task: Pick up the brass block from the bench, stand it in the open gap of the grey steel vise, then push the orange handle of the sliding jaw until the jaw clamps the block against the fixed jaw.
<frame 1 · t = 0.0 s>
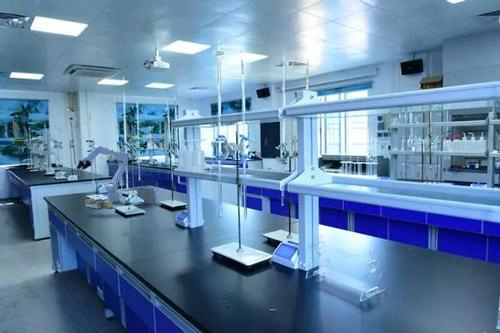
hand: (80, 168, 280), 32 cm above the table, tool tilted 50°, fingers open, 7 cm apart
geiger counter: (144, 202, 298), on the table
vise bed: (100, 206, 288), on the table
brass block: (108, 207, 282), on the table
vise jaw: (92, 201, 293), point 3 cm above the table, slide at 0.0 cm
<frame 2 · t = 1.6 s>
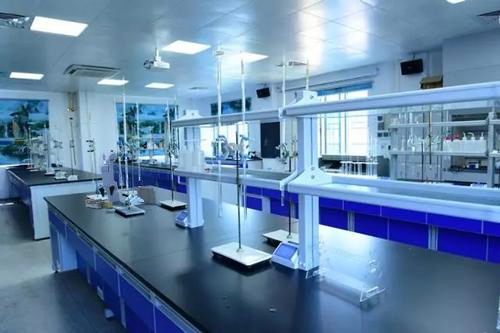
hand: (107, 196, 281), 9 cm above the table, tool pointing down, fingers open, 7 cm apart
nothing on the table moved.
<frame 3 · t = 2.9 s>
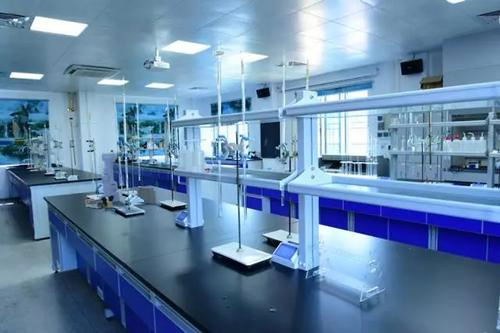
hand: (108, 205, 282), 1 cm above the table, tool pointing down, fingers closed on brass block, 4 cm apart
brass block: (108, 207, 282), on the table, touching gripper
everything else where it was.
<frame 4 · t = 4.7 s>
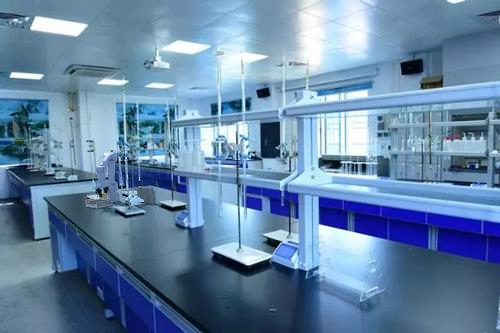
hand: (103, 196, 285), 8 cm above the table, tool pointing down, fingers closed on brass block, 4 cm apart
brass block: (103, 199, 285), point 6 cm above the table, touching gripper
everything else where it was.
when the fingers open (4 cm above the table, at t = 6.3 s): brass block stays where it is, resting on vise bed.
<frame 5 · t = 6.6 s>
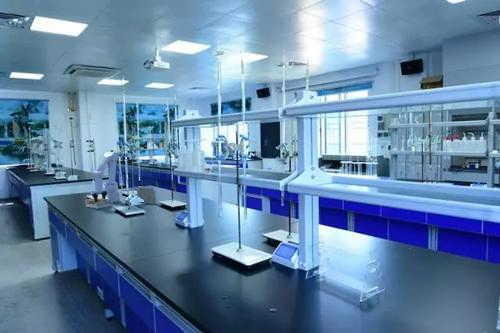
hand: (100, 201, 287), 4 cm above the table, tool pointing down, fingers open, 6 cm apart
brass block: (100, 204, 287), point 1 cm above the table, touching vise bed
everything else where it was.
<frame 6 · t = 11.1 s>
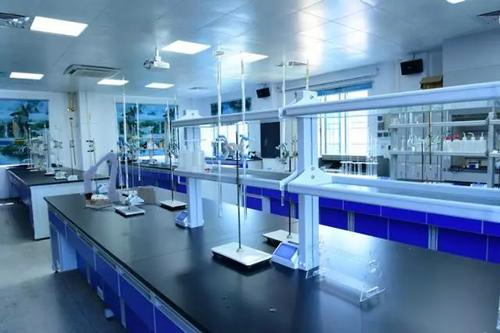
hand: (89, 201, 296), 2 cm above the table, tool pointing down, fingers closed, pressing on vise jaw
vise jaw: (93, 201, 293), point 3 cm above the table, slide at 1.4 cm, touching gripper
everything else where it was.
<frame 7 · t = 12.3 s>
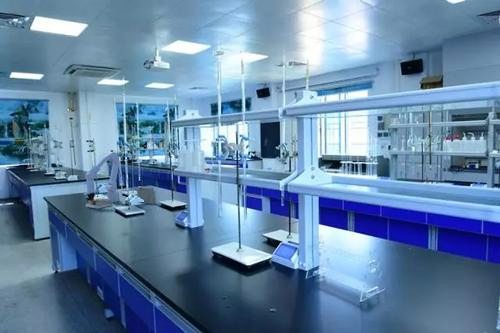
hand: (91, 202, 294), 2 cm above the table, tool pointing down, fingers closed, pressing on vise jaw
brass block: (101, 204, 287), point 2 cm above the table, touching vise bed, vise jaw
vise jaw: (95, 201, 291), point 3 cm above the table, slide at 5.1 cm, touching brass block, gripper
everything else where it was.
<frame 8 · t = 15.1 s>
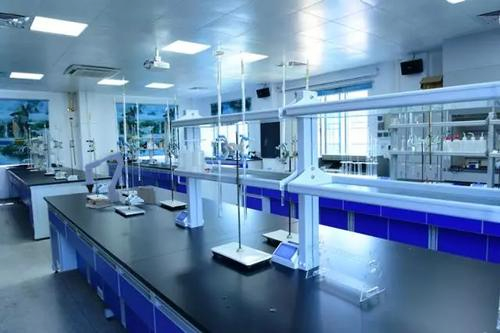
hand: (90, 193, 299), 9 cm above the table, tool pointing down, fingers closed
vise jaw: (95, 201, 291), point 3 cm above the table, slide at 5.0 cm, touching brass block
everything else where it was.
at the end: brass block 1.0 cm off-centre on the vise bed, point 1.5 cm above the vise bed's base; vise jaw slide at 5.0 cm; brass block tilted 0° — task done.
